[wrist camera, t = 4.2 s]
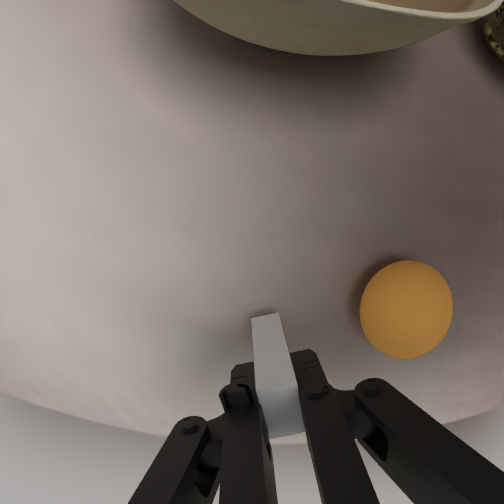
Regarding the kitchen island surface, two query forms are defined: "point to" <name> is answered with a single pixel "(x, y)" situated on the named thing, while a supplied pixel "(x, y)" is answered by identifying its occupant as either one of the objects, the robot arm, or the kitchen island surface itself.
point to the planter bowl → (336, 22)
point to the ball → (406, 309)
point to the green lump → (495, 32)
